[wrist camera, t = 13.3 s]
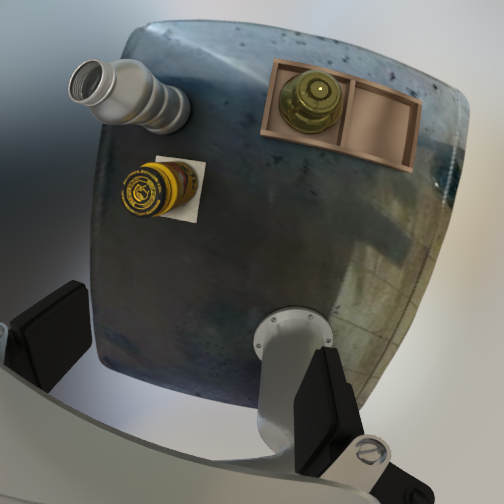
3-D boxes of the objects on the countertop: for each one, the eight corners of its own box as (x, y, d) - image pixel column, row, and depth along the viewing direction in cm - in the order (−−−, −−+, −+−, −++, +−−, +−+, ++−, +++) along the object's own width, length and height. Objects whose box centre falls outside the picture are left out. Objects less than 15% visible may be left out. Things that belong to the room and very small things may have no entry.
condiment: (206, 162, 36) (176, 163, 25) (196, 222, 39) (165, 248, 27) (156, 155, 36) (111, 156, 25) (149, 213, 39) (105, 235, 28)
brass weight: (299, 71, 30) (307, 42, 21) (346, 105, 31) (371, 87, 22) (266, 113, 32) (263, 95, 23) (314, 147, 33) (329, 142, 24)
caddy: (411, 105, 31) (422, 101, 28) (400, 171, 34) (411, 172, 31) (274, 66, 31) (274, 58, 28) (261, 136, 34) (260, 134, 31)
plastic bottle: (141, 119, 35) (44, 99, 16) (172, 82, 33) (90, 31, 14) (172, 145, 36) (83, 138, 17) (204, 107, 34) (137, 61, 15)
